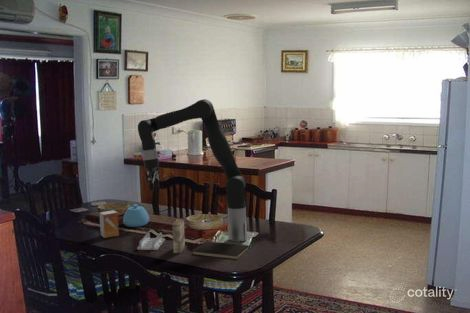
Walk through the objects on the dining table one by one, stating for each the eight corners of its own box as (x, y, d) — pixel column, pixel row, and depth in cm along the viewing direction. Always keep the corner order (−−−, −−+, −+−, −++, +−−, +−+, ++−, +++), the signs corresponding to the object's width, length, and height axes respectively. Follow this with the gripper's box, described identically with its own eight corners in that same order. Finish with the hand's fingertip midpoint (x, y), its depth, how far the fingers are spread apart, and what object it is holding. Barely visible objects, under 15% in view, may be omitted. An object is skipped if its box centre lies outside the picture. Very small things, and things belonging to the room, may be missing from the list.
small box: (104, 238, 282) (103, 214, 280) (100, 235, 287) (99, 212, 285) (119, 235, 286) (117, 212, 284) (114, 233, 291) (113, 209, 290)
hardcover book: (237, 260, 244) (236, 255, 244) (192, 255, 253) (192, 250, 253) (249, 249, 259) (249, 245, 259) (206, 245, 268) (206, 240, 267)
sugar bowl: (154, 222, 311) (153, 203, 309) (137, 229, 298) (136, 209, 296) (135, 219, 319) (134, 200, 317) (117, 225, 306) (116, 206, 304)
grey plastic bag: (164, 240, 276) (164, 232, 276) (157, 250, 261) (156, 242, 260) (145, 239, 277) (145, 232, 277) (137, 249, 262) (136, 242, 261)
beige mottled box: (184, 246, 265) (183, 219, 263) (180, 253, 255) (179, 224, 253) (178, 246, 265) (176, 219, 263) (173, 253, 256) (172, 224, 253)
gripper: (153, 159, 266) (157, 190, 267) (161, 156, 280) (166, 186, 281) (138, 160, 267) (143, 192, 269) (148, 157, 281) (152, 187, 283)
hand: (154, 189), depth 275 cm, fingers open, 8 cm apart
